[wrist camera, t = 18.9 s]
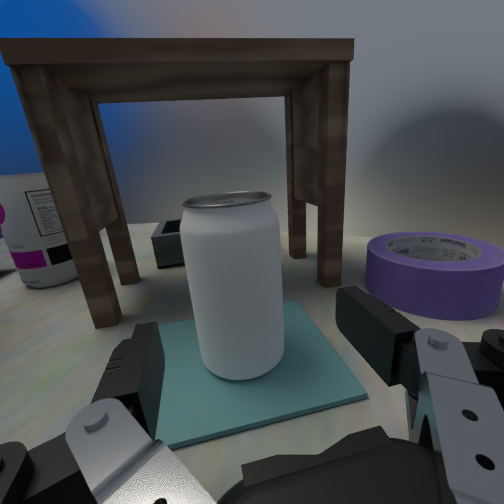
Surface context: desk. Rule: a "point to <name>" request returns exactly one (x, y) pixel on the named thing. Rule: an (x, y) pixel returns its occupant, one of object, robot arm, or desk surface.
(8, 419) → the desk surface
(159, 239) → the box
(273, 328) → the can
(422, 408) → the robot arm
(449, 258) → the tape roll
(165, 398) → the pad
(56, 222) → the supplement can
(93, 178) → the small wooden table
